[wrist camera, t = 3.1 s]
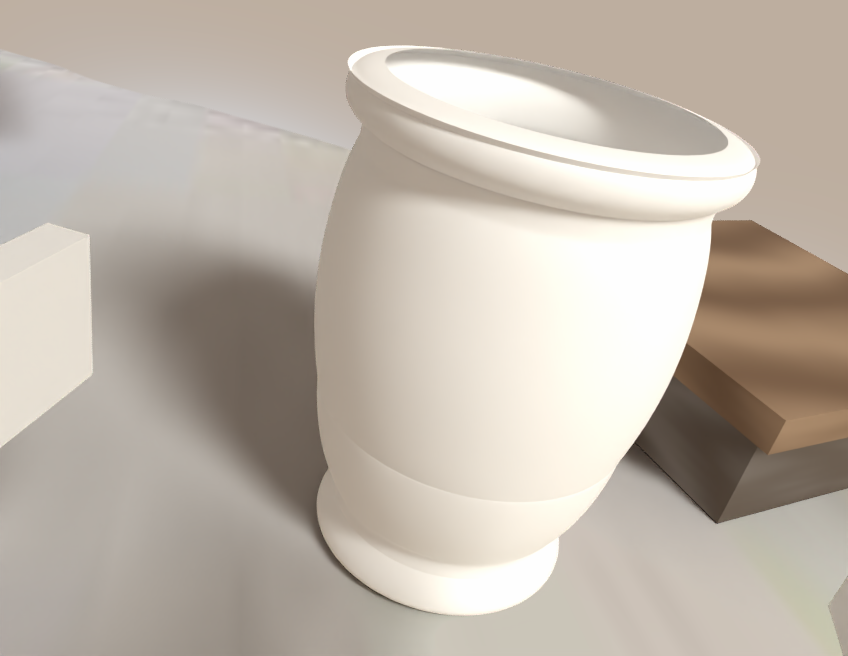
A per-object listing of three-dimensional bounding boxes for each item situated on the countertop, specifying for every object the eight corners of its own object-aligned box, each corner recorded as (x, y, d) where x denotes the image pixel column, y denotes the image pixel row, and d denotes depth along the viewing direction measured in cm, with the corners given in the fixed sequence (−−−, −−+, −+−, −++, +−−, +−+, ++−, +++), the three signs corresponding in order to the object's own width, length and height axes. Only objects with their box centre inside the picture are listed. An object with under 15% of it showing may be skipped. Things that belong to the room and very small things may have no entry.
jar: (229, 581, 23) (279, 75, 15) (342, 400, 32) (408, 25, 24) (574, 702, 22) (806, 214, 14) (591, 478, 30) (739, 108, 23)
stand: (500, 325, 40) (530, 221, 37) (713, 308, 48) (751, 220, 45) (717, 547, 28) (785, 420, 25) (954, 478, 36) (1028, 374, 33)
